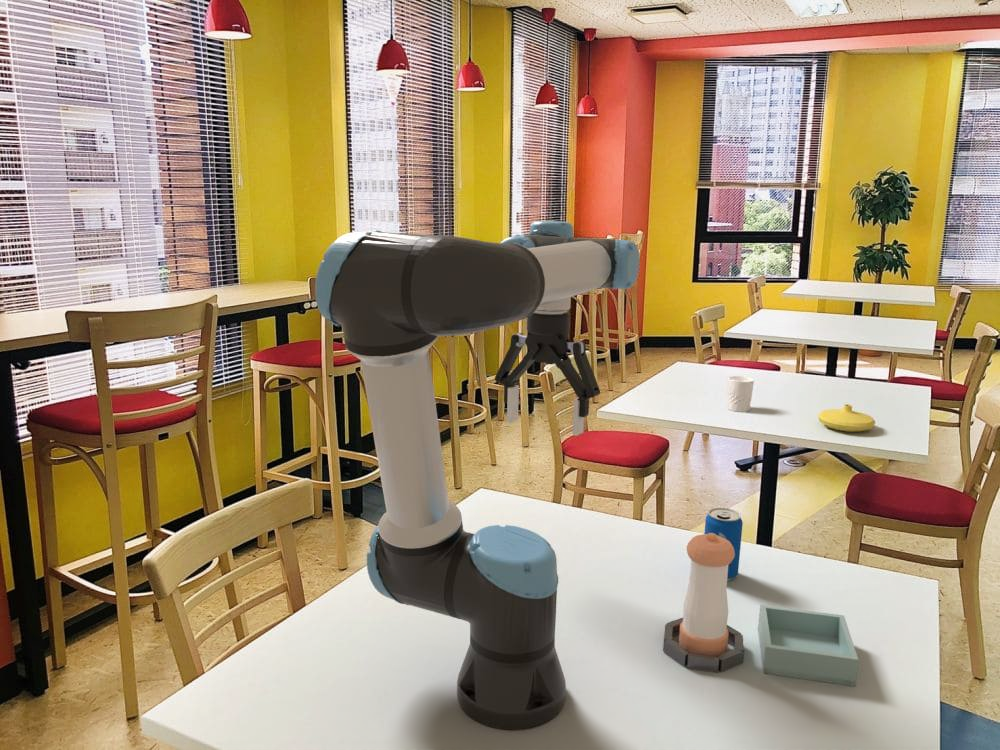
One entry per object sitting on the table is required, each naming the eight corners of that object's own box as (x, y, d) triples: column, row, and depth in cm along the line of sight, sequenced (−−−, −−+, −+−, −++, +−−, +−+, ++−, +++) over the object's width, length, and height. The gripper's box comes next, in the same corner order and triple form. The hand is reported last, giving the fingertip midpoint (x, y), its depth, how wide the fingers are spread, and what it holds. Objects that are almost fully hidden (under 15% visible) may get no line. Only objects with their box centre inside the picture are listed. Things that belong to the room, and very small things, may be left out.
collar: (744, 676, 119) (745, 664, 119) (661, 664, 122) (662, 652, 122) (740, 634, 130) (741, 622, 130) (665, 623, 133) (666, 612, 133)
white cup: (720, 407, 262) (722, 377, 259) (739, 404, 265) (742, 374, 263) (737, 413, 255) (739, 382, 253) (756, 411, 258) (759, 380, 256)
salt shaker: (691, 630, 131) (700, 519, 127) (734, 647, 127) (745, 532, 122) (670, 650, 126) (678, 534, 121) (714, 668, 121) (724, 549, 117)
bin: (854, 686, 117) (858, 659, 116) (763, 673, 120) (766, 646, 119) (840, 639, 129) (844, 615, 128) (757, 628, 132) (760, 604, 131)
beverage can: (697, 577, 149) (702, 516, 146) (706, 563, 154) (711, 504, 152) (733, 586, 146) (739, 523, 143) (741, 571, 151) (746, 511, 149)
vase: (880, 438, 233) (884, 414, 231) (823, 434, 235) (825, 411, 234) (865, 422, 248) (868, 400, 247) (811, 419, 251) (814, 396, 249)
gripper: (623, 315, 140) (616, 434, 144) (500, 302, 153) (497, 411, 157) (604, 320, 134) (597, 444, 138) (477, 306, 147) (475, 420, 151)
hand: (544, 427), depth 148 cm, fingers open, 13 cm apart
